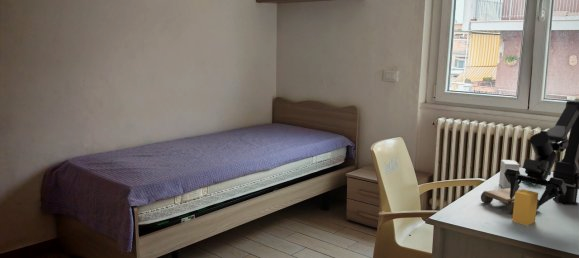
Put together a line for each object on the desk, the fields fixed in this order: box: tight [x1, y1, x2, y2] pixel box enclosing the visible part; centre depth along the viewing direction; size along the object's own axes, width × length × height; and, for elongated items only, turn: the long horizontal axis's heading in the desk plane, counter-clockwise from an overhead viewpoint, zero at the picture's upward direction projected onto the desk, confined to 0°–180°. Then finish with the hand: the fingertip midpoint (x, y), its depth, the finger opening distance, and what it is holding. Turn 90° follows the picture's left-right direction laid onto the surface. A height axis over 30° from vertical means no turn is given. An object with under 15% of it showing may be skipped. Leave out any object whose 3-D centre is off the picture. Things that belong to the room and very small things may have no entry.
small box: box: [498, 159, 520, 189], centre depth 205 cm, size 8×6×10 cm
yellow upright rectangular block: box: [511, 189, 539, 226], centre depth 165 cm, size 6×5×10 cm
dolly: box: [480, 188, 541, 215], centre depth 180 cm, size 14×14×5 cm
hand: (524, 201), depth 163 cm, fingers open, 9 cm apart
